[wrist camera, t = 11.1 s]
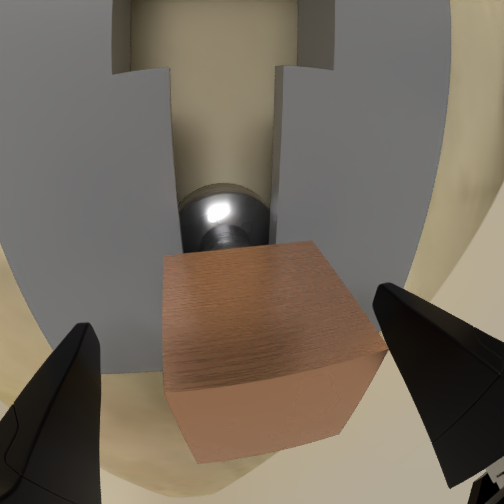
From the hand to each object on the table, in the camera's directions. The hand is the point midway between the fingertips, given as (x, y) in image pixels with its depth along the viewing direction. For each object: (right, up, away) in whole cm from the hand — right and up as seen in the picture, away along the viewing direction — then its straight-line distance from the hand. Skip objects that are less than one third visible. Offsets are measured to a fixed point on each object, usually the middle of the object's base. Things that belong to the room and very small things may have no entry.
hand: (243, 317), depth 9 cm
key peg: (-1, +3, +4) cm, 5 cm away
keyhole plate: (-1, +6, +2) cm, 6 cm away
